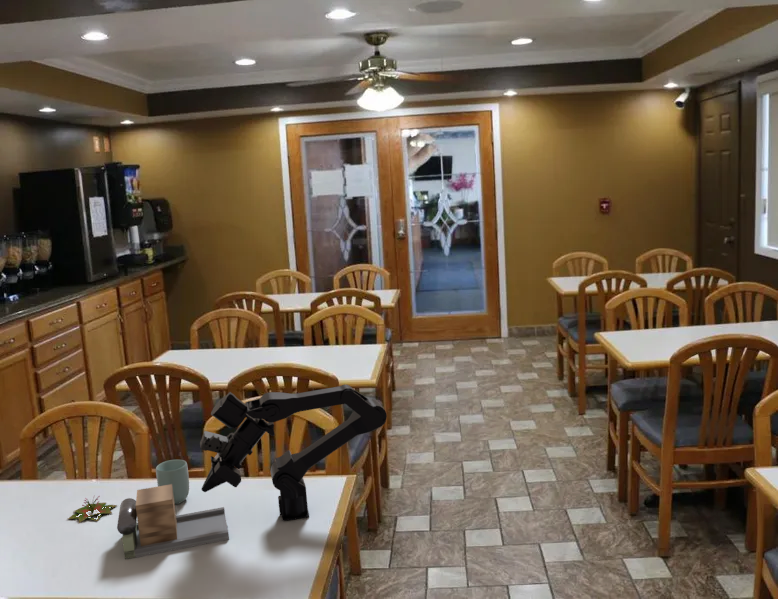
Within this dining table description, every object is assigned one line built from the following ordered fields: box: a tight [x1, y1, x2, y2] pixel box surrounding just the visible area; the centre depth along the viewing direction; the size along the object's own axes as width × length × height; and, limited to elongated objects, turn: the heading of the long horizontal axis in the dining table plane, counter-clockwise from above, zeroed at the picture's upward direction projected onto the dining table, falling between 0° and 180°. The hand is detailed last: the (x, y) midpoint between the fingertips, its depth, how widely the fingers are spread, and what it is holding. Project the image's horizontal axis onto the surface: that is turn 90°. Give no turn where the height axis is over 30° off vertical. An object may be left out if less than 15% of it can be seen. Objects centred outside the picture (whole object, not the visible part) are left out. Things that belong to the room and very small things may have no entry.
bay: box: [116, 497, 230, 560], centre depth 175 cm, size 24×14×9 cm, turn 106°
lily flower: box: [67, 495, 118, 524], centre depth 191 cm, size 12×12×5 cm
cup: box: [155, 459, 190, 505], centre depth 194 cm, size 8×8×10 cm
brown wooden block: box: [135, 484, 177, 546], centre depth 174 cm, size 8×9×10 cm
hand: (203, 490), depth 176 cm, fingers closed
